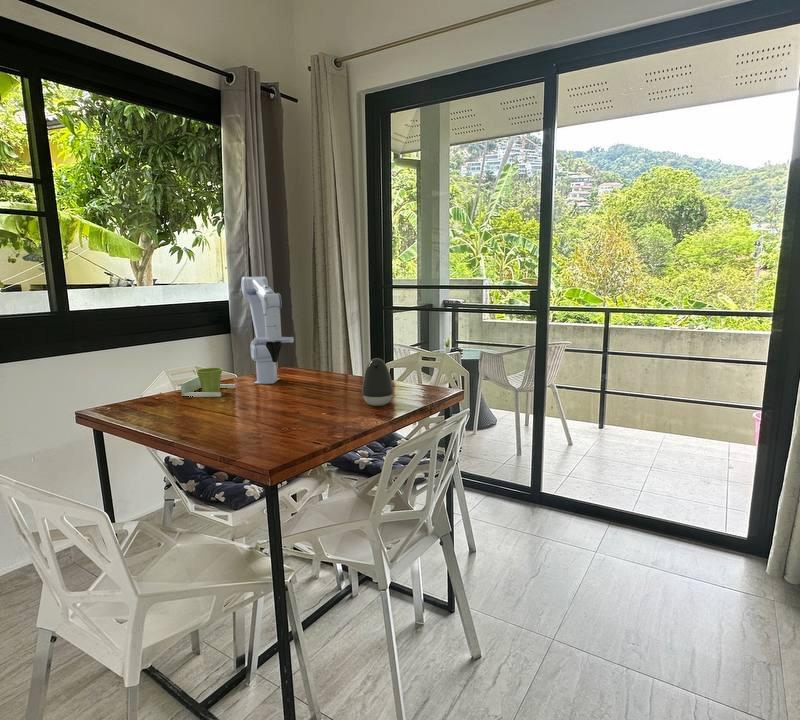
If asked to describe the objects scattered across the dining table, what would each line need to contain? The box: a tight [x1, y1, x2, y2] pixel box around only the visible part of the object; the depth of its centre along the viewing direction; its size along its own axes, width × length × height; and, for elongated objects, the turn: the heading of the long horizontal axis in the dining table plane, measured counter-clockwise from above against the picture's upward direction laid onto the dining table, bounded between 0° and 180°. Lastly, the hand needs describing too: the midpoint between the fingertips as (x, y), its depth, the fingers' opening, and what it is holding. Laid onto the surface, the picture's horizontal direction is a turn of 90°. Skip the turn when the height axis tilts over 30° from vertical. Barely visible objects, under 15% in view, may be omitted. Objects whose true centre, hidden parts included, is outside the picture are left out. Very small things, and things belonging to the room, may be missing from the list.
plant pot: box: [195, 367, 224, 392], centre depth 190 cm, size 9×9×9 cm
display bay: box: [180, 375, 236, 398], centre depth 190 cm, size 15×14×5 cm
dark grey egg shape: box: [361, 357, 394, 407], centre depth 166 cm, size 10×10×15 cm
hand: (275, 361), depth 193 cm, fingers closed
